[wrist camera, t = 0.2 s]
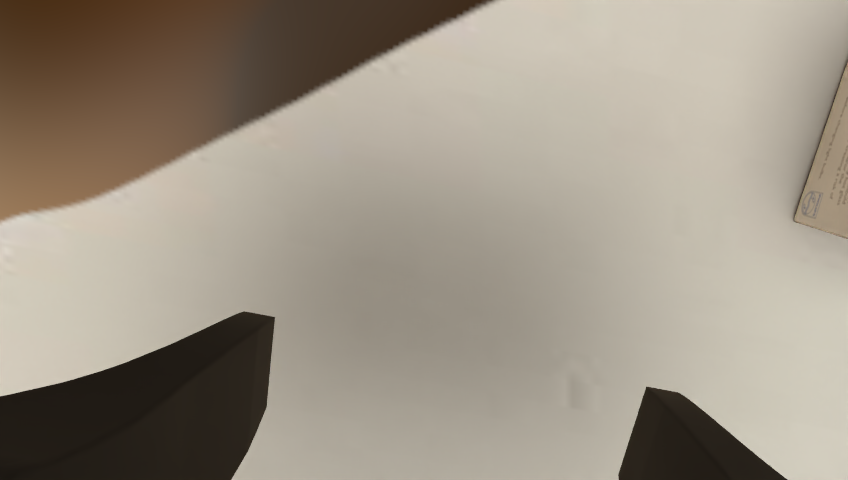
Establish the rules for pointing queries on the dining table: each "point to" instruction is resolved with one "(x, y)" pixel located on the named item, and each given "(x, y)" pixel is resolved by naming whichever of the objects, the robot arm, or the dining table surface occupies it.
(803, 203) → the light bulb box
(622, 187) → the dining table surface
